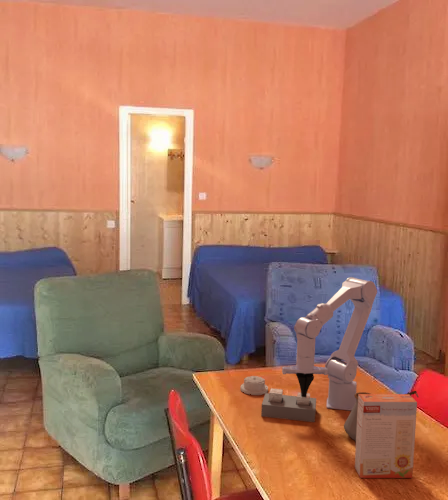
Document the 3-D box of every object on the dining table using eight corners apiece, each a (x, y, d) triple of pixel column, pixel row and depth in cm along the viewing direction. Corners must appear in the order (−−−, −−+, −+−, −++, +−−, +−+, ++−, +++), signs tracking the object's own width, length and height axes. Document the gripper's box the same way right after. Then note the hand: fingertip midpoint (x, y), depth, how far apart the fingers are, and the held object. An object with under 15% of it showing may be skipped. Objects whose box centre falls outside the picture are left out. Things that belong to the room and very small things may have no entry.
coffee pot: (347, 445, 165) (350, 395, 163) (340, 428, 176) (342, 381, 174) (421, 448, 165) (425, 398, 163) (409, 430, 176) (412, 384, 174)
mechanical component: (240, 395, 201) (268, 396, 201) (240, 383, 201) (269, 384, 200) (240, 385, 211) (267, 386, 211) (240, 373, 210) (267, 374, 210)
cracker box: (404, 467, 153) (410, 393, 150) (412, 479, 147) (418, 402, 144) (353, 467, 153) (357, 392, 150) (359, 478, 147) (364, 401, 144)
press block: (315, 409, 190) (316, 398, 189) (314, 422, 180) (315, 410, 180) (265, 404, 193) (265, 393, 193) (261, 416, 183) (261, 404, 183)
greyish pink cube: (282, 400, 189) (282, 389, 188) (281, 404, 185) (281, 393, 184) (270, 399, 189) (270, 388, 189) (268, 403, 185) (269, 392, 185)
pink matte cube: (309, 404, 187) (310, 393, 186) (309, 409, 183) (309, 398, 183) (297, 403, 188) (297, 392, 187) (296, 407, 184) (297, 396, 183)
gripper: (325, 351, 187) (323, 390, 189) (281, 350, 187) (279, 390, 189) (330, 358, 180) (327, 399, 182) (284, 357, 180) (282, 398, 182)
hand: (303, 395), depth 185 cm, fingers closed, pressing on pink matte cube
